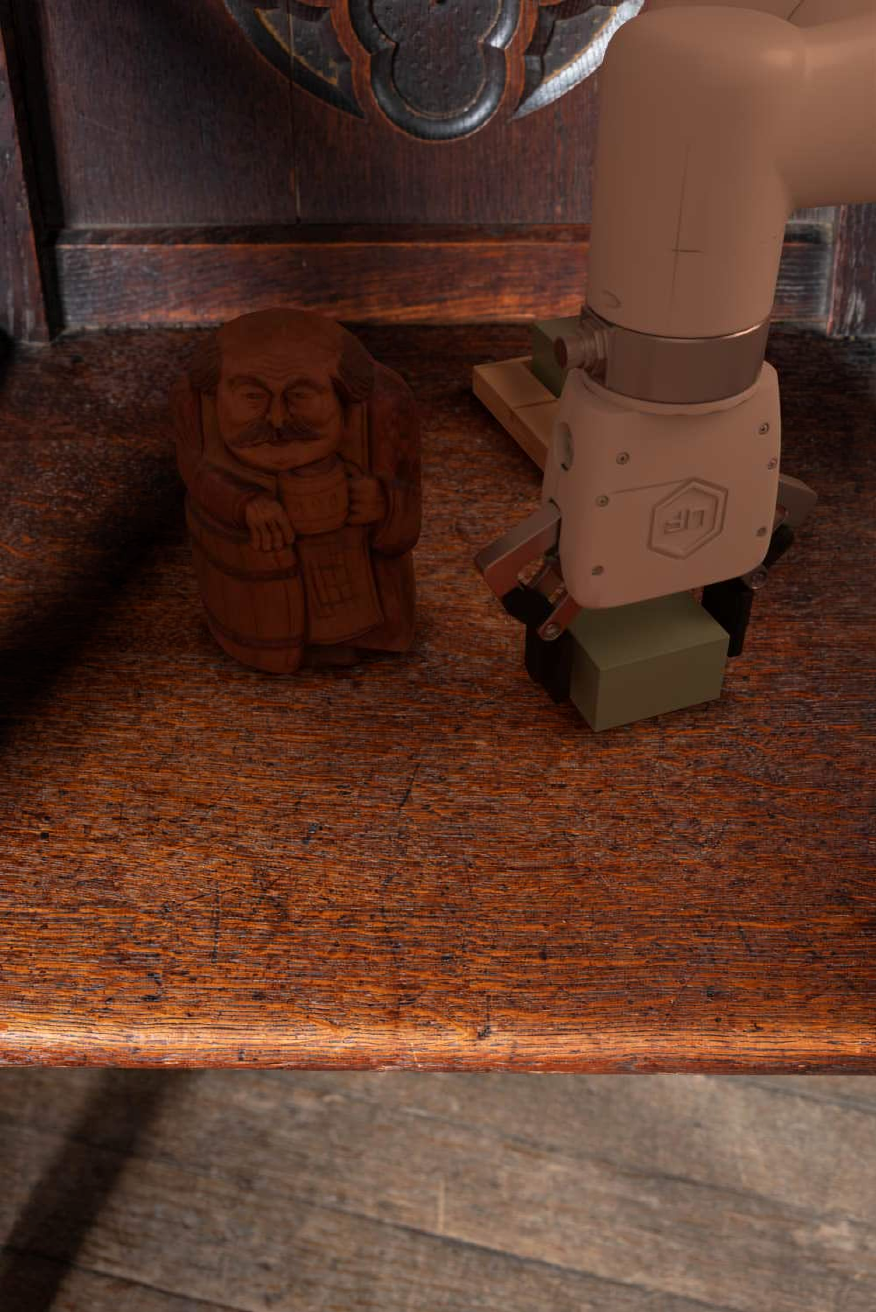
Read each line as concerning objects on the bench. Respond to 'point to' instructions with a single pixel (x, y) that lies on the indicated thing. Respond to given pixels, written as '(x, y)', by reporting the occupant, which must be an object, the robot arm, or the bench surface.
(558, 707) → the bench surface
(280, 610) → the wooden figurine
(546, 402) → the frame
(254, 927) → the bench surface
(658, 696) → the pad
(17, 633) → the bench surface
